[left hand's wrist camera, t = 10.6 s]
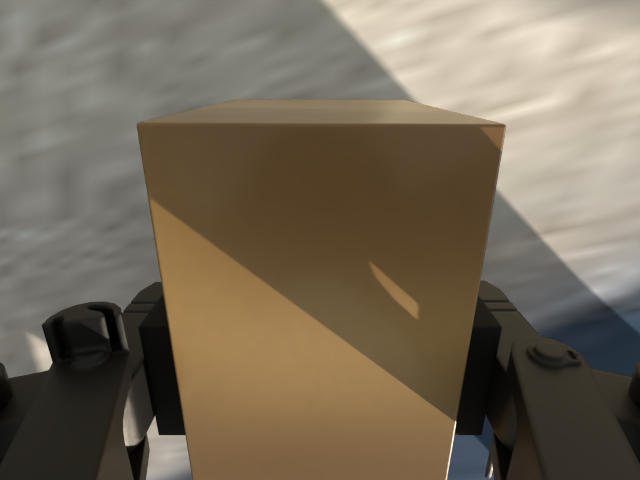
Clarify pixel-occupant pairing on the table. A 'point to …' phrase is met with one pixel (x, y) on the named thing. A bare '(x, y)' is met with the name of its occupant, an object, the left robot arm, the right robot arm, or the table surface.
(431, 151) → the beam
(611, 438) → the left robot arm
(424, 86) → the table surface
